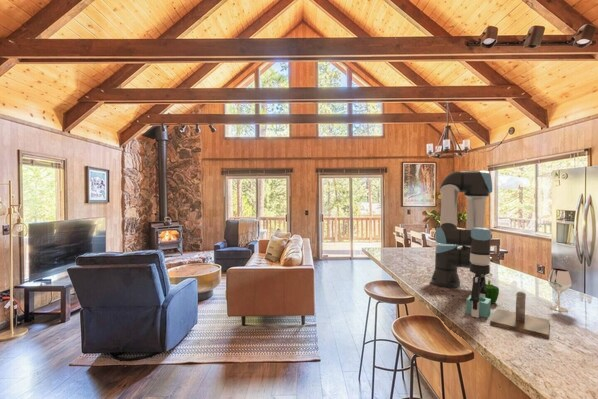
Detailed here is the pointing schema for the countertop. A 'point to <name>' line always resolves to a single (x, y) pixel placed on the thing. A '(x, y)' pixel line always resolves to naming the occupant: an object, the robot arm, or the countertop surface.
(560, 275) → the wineglass
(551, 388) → the countertop surface
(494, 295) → the bell pepper
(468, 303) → the bead
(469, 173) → the robot arm
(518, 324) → the post board
